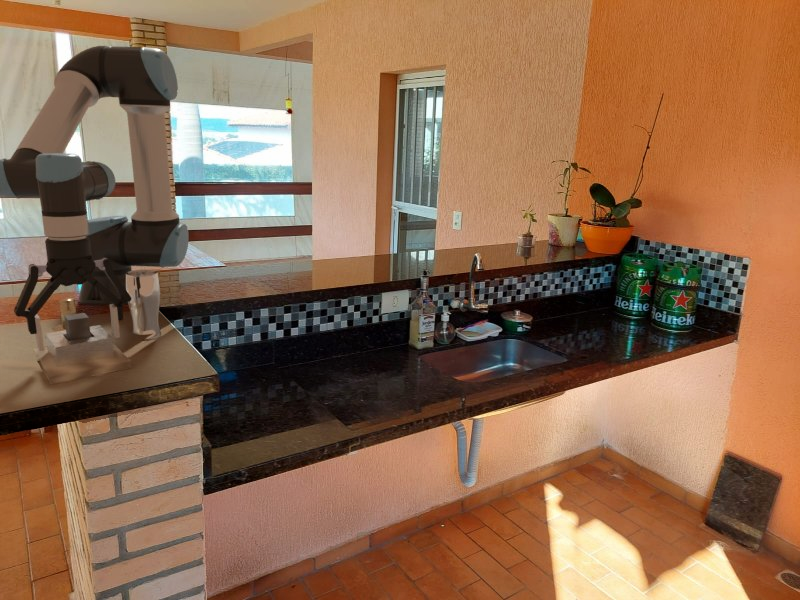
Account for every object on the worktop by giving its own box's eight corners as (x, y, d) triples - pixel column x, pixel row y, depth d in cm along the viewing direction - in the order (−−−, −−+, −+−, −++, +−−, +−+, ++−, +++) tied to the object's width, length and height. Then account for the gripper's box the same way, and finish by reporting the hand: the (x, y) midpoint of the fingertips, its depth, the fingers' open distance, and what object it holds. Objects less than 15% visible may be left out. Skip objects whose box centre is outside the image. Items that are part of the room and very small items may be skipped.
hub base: (107, 342, 130) (103, 301, 127) (131, 368, 116) (127, 322, 114) (33, 355, 121) (27, 311, 119) (50, 384, 108) (44, 334, 105)
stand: (84, 327, 140) (80, 294, 137) (91, 334, 134) (87, 301, 132) (50, 332, 135) (46, 298, 133) (56, 340, 130) (52, 305, 128)
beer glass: (168, 337, 135) (164, 273, 131) (138, 344, 130) (132, 277, 126) (154, 330, 139) (150, 268, 135) (124, 336, 134) (119, 272, 130)
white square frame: (101, 342, 125) (99, 325, 124) (114, 356, 118) (112, 337, 117) (47, 352, 119) (45, 333, 118) (57, 367, 112) (55, 347, 111)
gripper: (130, 229, 123) (139, 326, 128) (-14, 239, 107) (3, 348, 113) (141, 234, 117) (150, 335, 123) (-9, 245, 102) (8, 360, 107)
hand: (79, 342), depth 118 cm, fingers open, 13 cm apart
